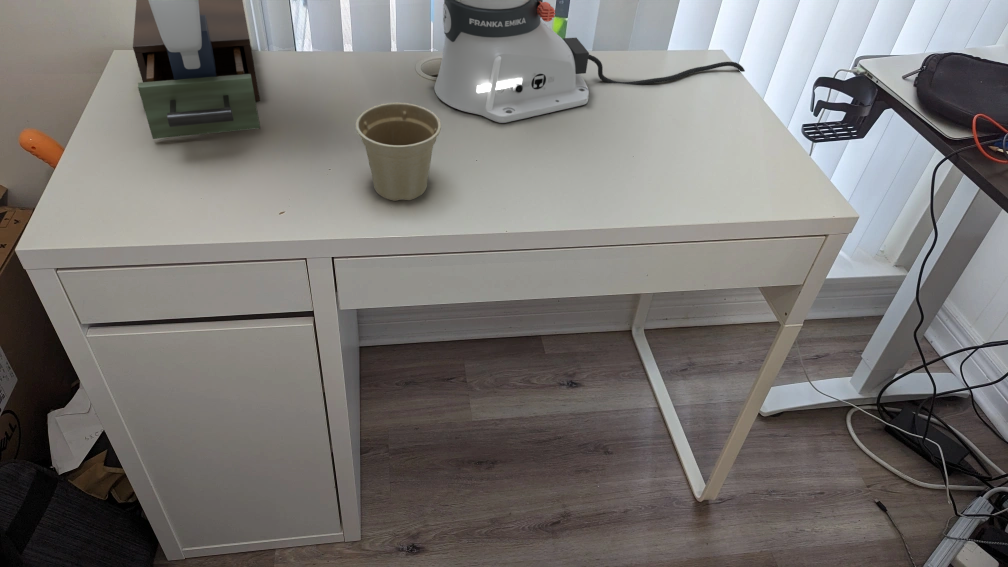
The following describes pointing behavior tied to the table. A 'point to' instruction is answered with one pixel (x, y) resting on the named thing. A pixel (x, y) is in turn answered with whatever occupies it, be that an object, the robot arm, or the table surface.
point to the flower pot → (399, 147)
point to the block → (205, 56)
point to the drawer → (198, 97)
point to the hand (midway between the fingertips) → (192, 55)
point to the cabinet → (224, 26)
